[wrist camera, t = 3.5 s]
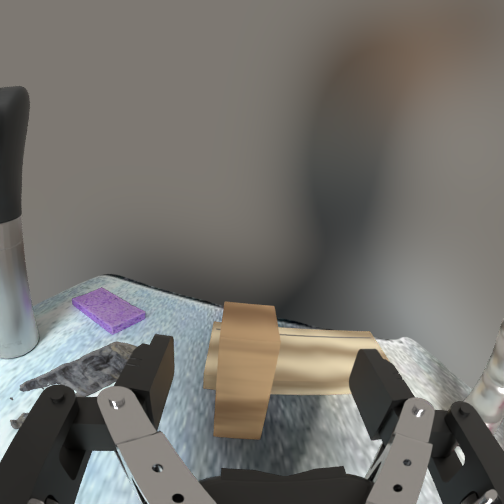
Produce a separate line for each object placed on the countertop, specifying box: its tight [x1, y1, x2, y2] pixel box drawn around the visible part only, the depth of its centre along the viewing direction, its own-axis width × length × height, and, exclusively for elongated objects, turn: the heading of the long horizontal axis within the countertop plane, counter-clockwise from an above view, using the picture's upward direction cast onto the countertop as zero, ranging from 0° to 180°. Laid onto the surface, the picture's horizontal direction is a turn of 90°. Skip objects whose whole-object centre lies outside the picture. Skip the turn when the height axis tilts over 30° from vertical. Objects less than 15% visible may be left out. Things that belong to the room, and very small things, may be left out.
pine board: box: [203, 322, 390, 395], centre depth 37 cm, size 12×24×2 cm, turn 91°
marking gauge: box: [213, 302, 281, 440], centre depth 31 cm, size 18×4×12 cm, turn 1°
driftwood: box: [10, 342, 137, 429], centre depth 27 cm, size 21×7×2 cm, turn 148°
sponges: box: [72, 287, 145, 335], centre depth 44 cm, size 7×13×2 cm, turn 61°
